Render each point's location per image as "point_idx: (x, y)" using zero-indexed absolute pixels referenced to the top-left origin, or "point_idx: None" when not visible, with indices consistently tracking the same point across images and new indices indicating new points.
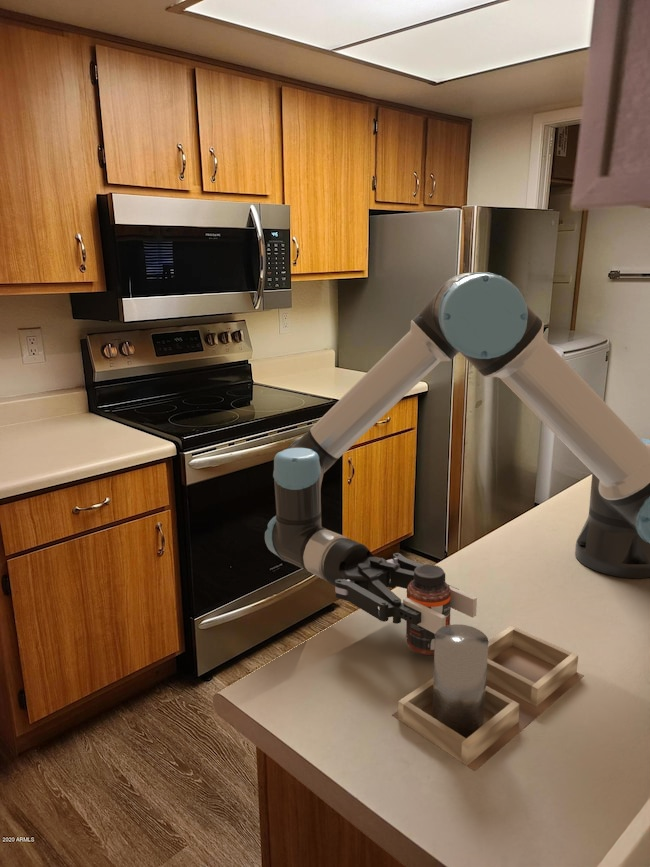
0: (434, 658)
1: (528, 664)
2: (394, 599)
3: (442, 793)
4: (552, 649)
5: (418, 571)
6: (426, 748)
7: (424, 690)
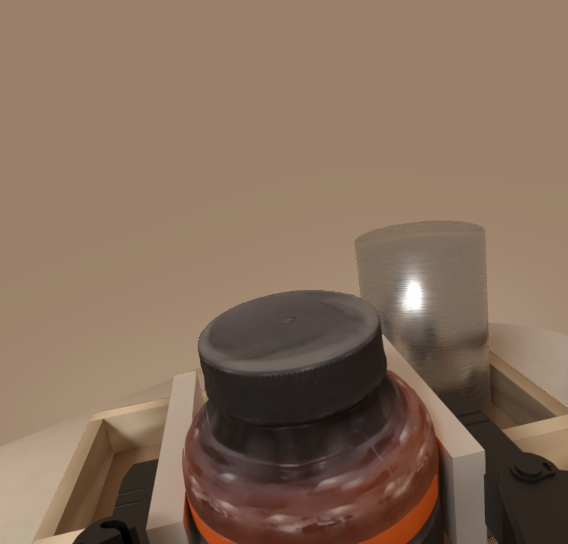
0: (485, 290)
1: None
2: (544, 474)
3: (524, 373)
4: (93, 449)
5: (351, 324)
6: None
7: None
